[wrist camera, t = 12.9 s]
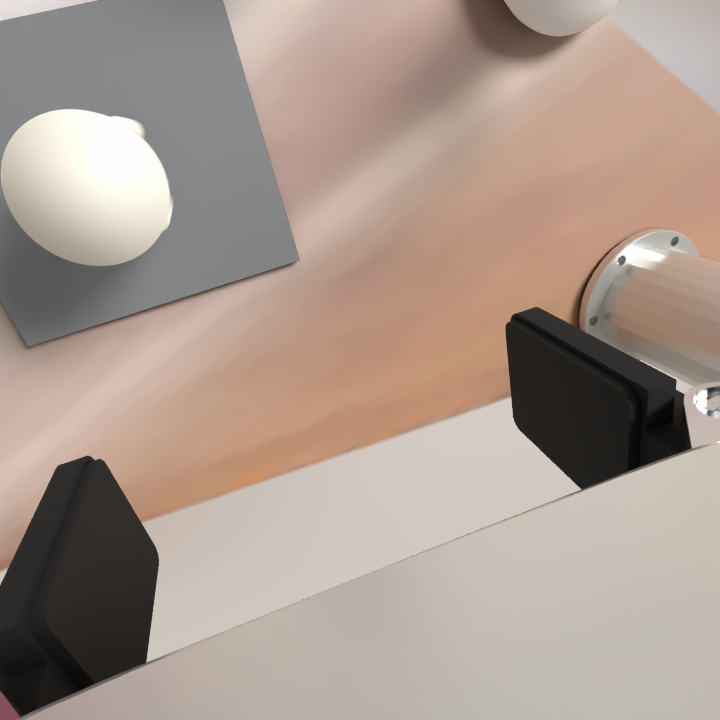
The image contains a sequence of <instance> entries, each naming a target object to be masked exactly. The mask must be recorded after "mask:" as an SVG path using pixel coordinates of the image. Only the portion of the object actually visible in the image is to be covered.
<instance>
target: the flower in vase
mask: <svg viewBox="0 0 720 720" xmlns="http://www.w3.org/2000/svg"><path fill="white" fill-rule="evenodd" d="M504 1H505V3H506V4H507V6H508V7H509V9H510V10H511V11H512V13H513V14H514V15H515V16H516V17H517V18H518V19H519V20H520V21H521V22H522V23H523V24H525V25H526V26H527V27H529V28H531V29H532V30H534V31H536V32H539V33H541V34H544V35H550V36H567V35H572V34H575V33H578V32H581V31H583V30H585V29H587V28H589V27H591V26H592V25H594V24H595V23H596V22H598V21H599V20H600V19H602V18H603V17H604V16H605V15H606V14H607V13H608V12H609V11H610V10H611V9H612V8H613V7H614V6H615V5H616V4H617V3H618V2H619V1H620V0H504Z"/></svg>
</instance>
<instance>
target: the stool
mask: <svg viewBox="0 0 720 720" xmlns="http://www.w3.org/2000/svg"><path fill="white" fill-rule="evenodd" d="M146 140H147V131H146V128H145V127H144V126H143V124H141V123H140V122H138V121H136V120H132V119H127V118H123V117H118V116H112V117H109V116H106V115H103V114H99V113H95V112H91V111H86V110H77V109H61V110H55V111H50V112H47V113H44V114H41V115H38V116H36V117H34V118H32V119H30V120H29V121H28V122H26V123H25V124H24V125H22V126H21V127H20V128H19V129H18V130H17V131H16V132H15V133H14V135H13V136H12V138H11V139H10V141H9V142H8V144H7V147H6V149H5V151H4V155H3V158H2V163H1V184H2V189H3V194H4V197H5V200H6V203H7V205H8V207H9V209H10V211H11V213H12V215H13V216H14V218H15V220H16V221H17V223H18V224H19V225H20V226H21V228H22V229H23V230H24V231H25V232H26V233H27V234H28V235H29V236H30V237H31V238H32V239H33V240H34V241H35V242H36V243H38V244H39V245H40V246H42V247H43V248H44V249H46V250H48V251H49V252H51V253H53V254H55V255H57V256H59V257H61V258H63V259H66V260H69V261H71V262H75V263H79V264H83V265H90V266H109V265H116V264H120V263H124V262H127V261H130V260H132V259H134V258H136V257H138V256H140V255H141V254H143V253H144V252H145V251H147V250H148V249H149V248H150V247H151V246H152V245H153V244H154V243H155V242H156V240H157V239H158V238H159V236H160V234H161V232H163V231H164V230H166V229H167V228H168V226H169V224H170V219H171V215H172V210H173V206H174V198H173V196H172V194H171V193H170V187H169V182H168V178H167V175H166V172H165V169H164V167H163V165H162V163H161V161H160V159H159V157H158V156H157V154H156V153H155V151H154V150H153V149H152V147H151V146H150V145H149V144H148V143H147V142H146Z"/></svg>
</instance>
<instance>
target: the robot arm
mask: <svg viewBox="0 0 720 720" xmlns="http://www.w3.org/2000/svg"><path fill="white" fill-rule="evenodd" d="M579 325H580V329H578V328H577V327H575V326H573V325H571V324H569V323H567V322H565V321H563V320H561V319H559V318H557V317H556V316H554V315H552V314H550V313H548V312H546V311H544V310H542V309H540V308H538V307H535V308H531V309H528V310H525V311H522V312H519V313H516V314H513V316H512V317H511V321H510V322H508V323H507V324H506V341H507V353H508V364H509V375H510V387H511V398H512V408H513V418H514V421H515V423H516V425H517V427H518V429H519V430H520V431H521V432H522V433H523V434H524V435H525V436H526V437H527V438H529V440H531V441H532V442H533V443H534V444H535V445H536V446H537V447H538V448H539V449H540V450H541V451H542V452H543V453H544V454H545V455H546V456H547V457H548V458H550V460H551V461H552V462H553V463H555V464H556V465H557V466H558V467H559V468H560V469H561V470H562V471H563V472H564V473H565V474H566V475H567V476H568V477H570V479H571V480H572V481H573V482H574V483H575V484H576V485H578V486H579V487H580V488H581V489H582V490H580V491H577V492H575V493H572V494H570V495H567V496H564V497H562V498H559V499H557V500H554V501H551V502H549V503H546V504H544V505H541V506H539V507H536V508H534V509H531V510H528V511H526V512H523V513H521V514H519V515H516V516H513V517H510V518H508V519H505V520H503V521H500V522H498V523H495V524H493V525H490V526H488V527H485V528H482V529H480V530H477V531H475V532H472V533H469V534H467V535H464V536H462V537H459V538H457V539H454V540H452V541H449V542H447V543H444V544H442V545H439V546H437V547H434V548H432V549H429V550H426V551H424V552H421V553H419V554H416V555H414V556H411V557H409V558H407V559H404V560H401V561H399V562H396V563H394V564H391V565H389V566H386V567H384V568H381V569H378V570H376V571H373V572H371V573H369V574H366V575H364V576H361V577H359V578H356V579H353V580H351V581H348V582H346V583H343V584H341V585H338V586H336V587H333V588H331V589H328V590H326V591H323V592H321V593H318V594H316V595H313V596H311V597H308V598H306V599H303V600H301V601H298V602H296V603H293V604H291V605H288V606H286V607H283V608H281V609H278V610H276V611H274V612H271V613H269V614H266V615H264V616H261V617H259V618H256V619H254V620H251V621H249V622H246V623H244V624H241V625H239V626H236V627H234V628H231V629H229V630H227V631H224V632H221V633H219V634H217V635H214V636H211V637H209V638H207V639H204V640H201V641H199V642H197V643H194V644H192V645H189V646H187V647H185V648H182V649H179V650H177V651H174V652H172V653H169V654H167V655H164V656H162V657H159V658H157V659H154V660H152V661H150V662H147V663H146V660H147V652H148V644H149V636H150V629H151V620H152V613H153V605H154V597H155V590H156V582H157V574H158V566H159V558H158V553H157V550H156V547H155V545H154V543H153V542H152V540H151V538H150V537H149V535H148V533H147V532H146V530H145V529H144V527H143V525H142V523H141V522H140V520H139V518H138V517H137V515H136V513H135V512H134V510H133V508H132V507H131V505H130V503H129V502H128V500H127V498H126V497H125V495H124V493H123V491H122V490H121V488H120V486H119V485H118V483H117V481H116V480H115V478H114V476H113V475H112V473H111V471H110V470H109V468H108V466H107V465H106V463H105V462H104V461H103V460H102V459H98V460H94V459H93V458H92V457H90V456H85V457H82V458H79V459H76V460H73V461H70V462H67V463H64V464H61V465H59V466H58V467H57V468H56V470H55V472H54V474H53V476H52V478H51V480H50V482H49V484H48V486H47V489H46V491H45V493H44V495H43V497H42V499H41V501H40V503H39V505H38V507H37V510H36V512H35V514H34V516H33V518H32V520H31V522H30V524H29V526H28V528H27V531H26V533H25V535H24V537H23V539H22V541H21V543H20V545H19V547H18V549H17V552H16V554H15V556H14V558H13V560H12V562H11V564H10V566H9V568H8V570H7V573H6V575H5V577H4V579H3V581H2V583H1V585H0V720H720V262H718V261H714V260H710V259H706V258H702V257H699V254H698V251H697V249H696V247H695V245H694V244H693V243H692V242H691V240H690V239H689V238H688V237H686V236H684V235H683V234H681V233H679V232H675V231H671V230H666V229H650V230H645V231H642V232H639V233H637V234H634V235H633V236H631V237H629V238H627V239H625V240H624V241H622V242H621V243H620V244H619V245H617V246H616V247H615V248H614V249H612V251H611V252H610V253H609V254H608V255H607V256H606V257H605V258H604V259H603V260H602V262H601V263H600V264H599V266H598V267H597V269H596V270H595V271H594V273H593V275H592V277H591V279H590V281H589V282H588V284H587V287H586V289H585V292H584V295H583V298H582V302H581V307H580V315H579ZM639 360H642V361H644V362H646V363H648V364H650V365H652V366H654V367H656V368H658V369H660V370H662V371H664V372H666V373H668V374H670V375H672V376H674V377H676V378H678V379H680V380H682V381H684V382H686V383H688V384H690V385H692V386H694V387H693V388H691V389H689V390H688V391H687V393H686V394H683V393H681V392H679V391H677V390H676V379H674V378H672V377H670V376H668V375H666V374H664V373H662V372H660V371H658V370H657V369H655V368H653V367H651V366H649V365H647V364H645V363H643V362H641V361H639Z"/></svg>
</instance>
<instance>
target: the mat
mask: <svg viewBox="0 0 720 720" xmlns="http://www.w3.org/2000/svg"><path fill="white" fill-rule="evenodd" d="M61 109H77V110H86V111H91V112H95V113H99V114H103V115H106V116H109V117H112V116H118V117H123V118H127V119H132V120H136V121H138V122H140V123H141V124H143V126H144V127H145V128H146V131H147V140H146V142H147V143H148V144H149V145H150V146H151V147H152V149H153V150H154V151H155V153H156V154H157V156H158V157H159V159H160V161H161V163H162V165H163V167H164V169H165V172H166V175H167V178H168V182H169V187H170V193H171V194H172V196H173V198H174V206H173V210H172V215H171V219H170V224H169V226H168V228H167V229H166V230H164V231H163V232H161V234H160V236H159V238H158V239H157V240H156V242H155V243H154V244H153V245H152V246H151V247H150V248H149V249H148V250H147V251H145V252H144V253H143V254H141V255H140V256H138V257H136V258H134V259H132V260H130V261H127V262H124V263H120V264H116V265H109V266H90V265H83V264H79V263H75V262H71V261H69V260H66V259H63V258H61V257H59V256H57V255H55V254H53V253H51V252H49V251H48V250H46V249H44V248H43V247H42V246H40V245H39V244H38V243H36V242H35V241H34V240H33V239H32V238H31V237H30V236H29V235H28V234H27V233H26V232H25V231H24V230H23V229H22V228H21V226H20V225H19V224H18V223H17V221H16V220H15V218H14V216H13V215H12V213H11V211H10V209H9V207H8V205H7V203H6V200H5V197H4V194H3V189H2V184H1V163H2V158H3V155H4V151H5V149H6V147H7V144H8V142H9V141H10V139H11V138H12V136H13V135H14V133H15V132H16V131H17V130H18V129H19V128H20V127H21V126H22V125H24V124H25V123H26V122H28V121H29V120H30V119H32V118H34V117H36V116H38V115H41V114H44V113H47V112H50V111H55V110H61ZM299 260H300V259H299V256H298V252H297V249H296V246H295V242H294V239H293V236H292V232H291V229H290V225H289V222H288V219H287V215H286V212H285V209H284V205H283V202H282V199H281V195H280V192H279V188H278V185H277V182H276V178H275V175H274V172H273V168H272V165H271V162H270V158H269V155H268V151H267V148H266V145H265V141H264V138H263V135H262V131H261V128H260V125H259V121H258V118H257V114H256V111H255V108H254V104H253V101H252V98H251V94H250V91H249V88H248V84H247V81H246V77H245V74H244V71H243V67H242V64H241V61H240V57H239V54H238V50H237V47H236V44H235V40H234V37H233V34H232V30H231V27H230V24H229V20H228V17H227V13H226V10H225V7H224V3H223V0H98V1H93V2H89V3H84V4H79V5H74V6H70V7H65V8H60V9H55V10H50V11H46V12H41V13H36V14H31V15H27V16H22V17H17V18H12V19H8V20H3V21H0V303H1V304H2V306H3V307H4V309H5V311H6V312H7V314H8V315H9V317H10V318H11V320H12V322H13V323H14V325H15V326H16V328H17V329H18V331H19V333H20V334H21V336H22V337H23V339H24V340H25V342H26V344H27V345H28V347H29V346H33V345H36V344H39V343H42V342H45V341H48V340H51V339H54V338H58V337H61V336H64V335H67V334H70V333H73V332H76V331H80V330H83V329H86V328H89V327H92V326H95V325H98V324H102V323H105V322H108V321H111V320H114V319H117V318H120V317H124V316H127V315H130V314H133V313H136V312H139V311H142V310H146V309H149V308H152V307H155V306H158V305H161V304H164V303H168V302H171V301H174V300H177V299H180V298H183V297H186V296H190V295H193V294H196V293H199V292H202V291H205V290H208V289H211V288H215V287H218V286H221V285H224V284H227V283H230V282H233V281H237V280H240V279H243V278H246V277H249V276H252V275H255V274H259V273H262V272H265V271H268V270H271V269H274V268H277V267H281V266H284V265H287V264H290V263H293V262H296V261H299Z"/></svg>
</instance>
